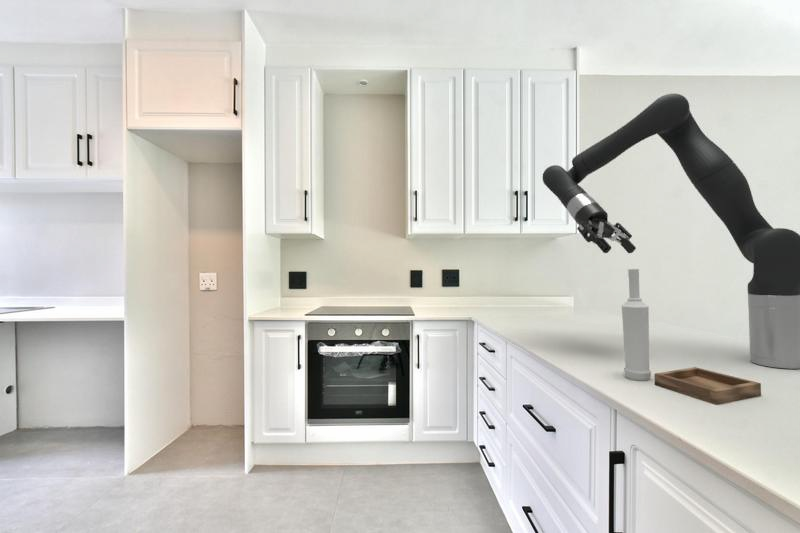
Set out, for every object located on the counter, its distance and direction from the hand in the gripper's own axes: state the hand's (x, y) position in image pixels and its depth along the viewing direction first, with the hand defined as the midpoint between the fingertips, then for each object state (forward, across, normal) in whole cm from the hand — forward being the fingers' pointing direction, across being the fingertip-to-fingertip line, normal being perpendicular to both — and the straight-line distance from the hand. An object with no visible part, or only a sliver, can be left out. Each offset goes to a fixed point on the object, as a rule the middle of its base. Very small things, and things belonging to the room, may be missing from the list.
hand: (620, 251), depth 95 cm
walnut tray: (+36, -3, +5) cm, 36 cm away
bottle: (+29, -7, +13) cm, 32 cm away
